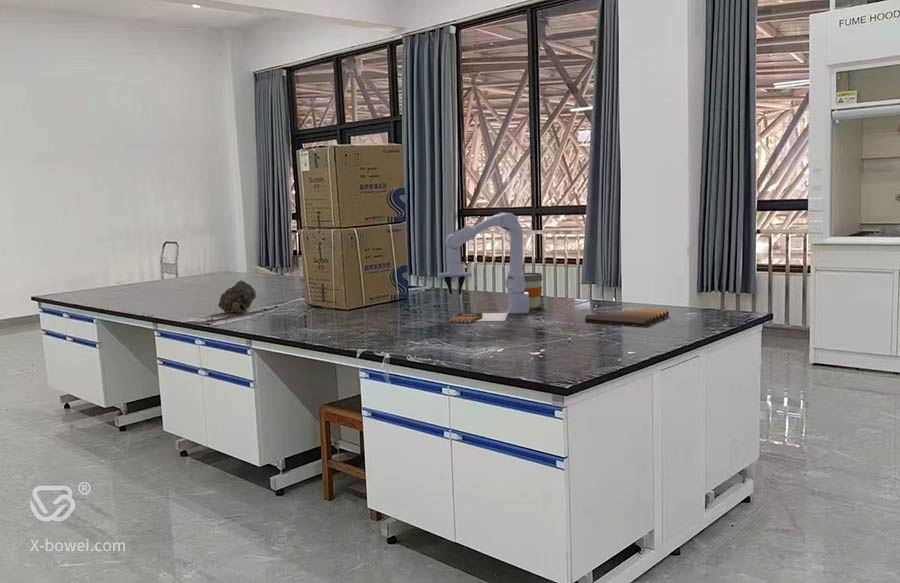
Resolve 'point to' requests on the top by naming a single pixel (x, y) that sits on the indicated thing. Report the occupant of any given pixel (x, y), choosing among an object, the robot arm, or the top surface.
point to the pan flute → (629, 317)
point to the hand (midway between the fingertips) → (455, 294)
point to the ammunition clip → (466, 317)
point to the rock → (237, 298)
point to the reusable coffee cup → (533, 288)
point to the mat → (493, 317)
